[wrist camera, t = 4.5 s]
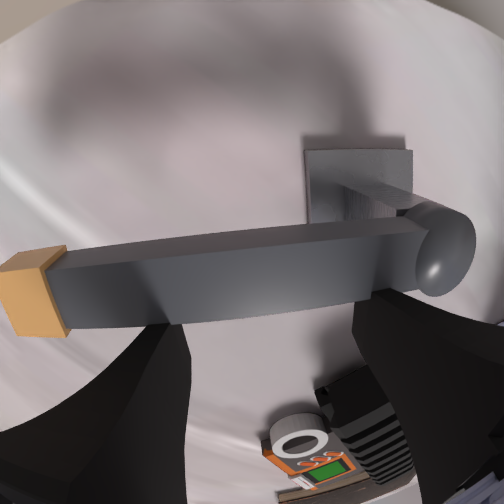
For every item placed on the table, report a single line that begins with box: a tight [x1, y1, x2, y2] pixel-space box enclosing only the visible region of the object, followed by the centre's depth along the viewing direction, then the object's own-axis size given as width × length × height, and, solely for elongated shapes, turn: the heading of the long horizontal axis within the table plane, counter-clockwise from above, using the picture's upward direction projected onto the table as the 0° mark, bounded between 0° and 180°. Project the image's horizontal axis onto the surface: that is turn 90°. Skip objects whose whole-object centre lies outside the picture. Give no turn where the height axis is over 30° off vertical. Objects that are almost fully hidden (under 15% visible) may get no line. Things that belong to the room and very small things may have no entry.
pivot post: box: [304, 149, 444, 224], centre depth 12 cm, size 6×6×5 cm
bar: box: [0, 201, 476, 338], centre depth 8 cm, size 3×16×2 cm, turn 94°
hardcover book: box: [279, 466, 416, 504], centre depth 31 cm, size 16×23×2 cm
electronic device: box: [261, 413, 364, 491], centre depth 22 cm, size 7×3×15 cm
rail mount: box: [314, 365, 414, 487], centre depth 21 cm, size 21×6×5 cm, turn 29°
